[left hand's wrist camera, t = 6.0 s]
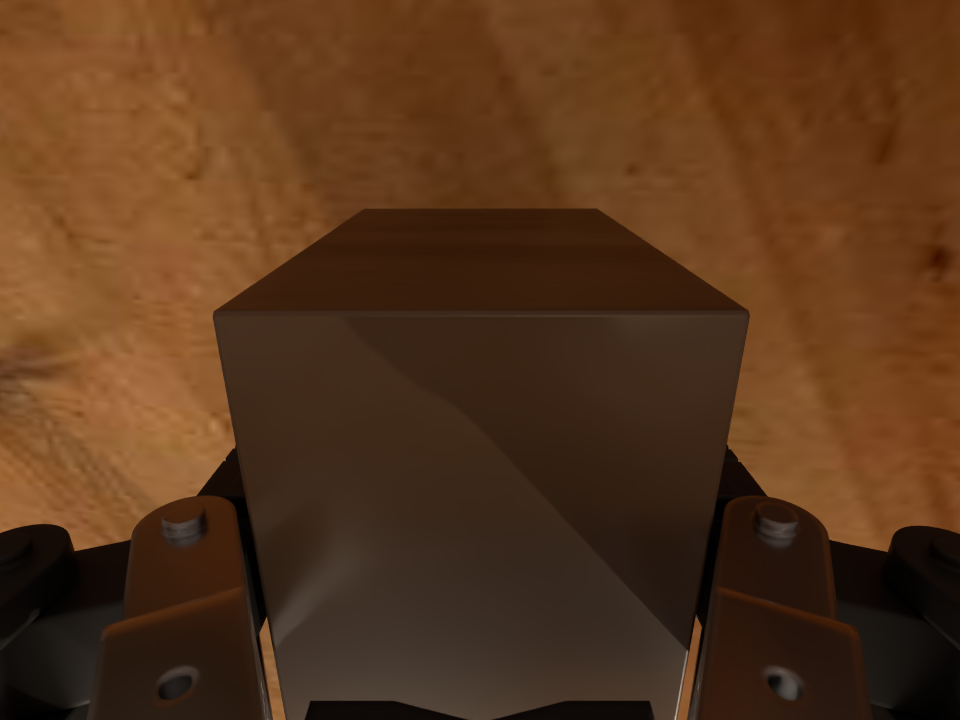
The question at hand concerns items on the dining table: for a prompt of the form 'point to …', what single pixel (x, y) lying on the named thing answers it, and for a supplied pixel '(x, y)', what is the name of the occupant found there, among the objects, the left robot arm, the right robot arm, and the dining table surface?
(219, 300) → the dining table surface
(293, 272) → the box
